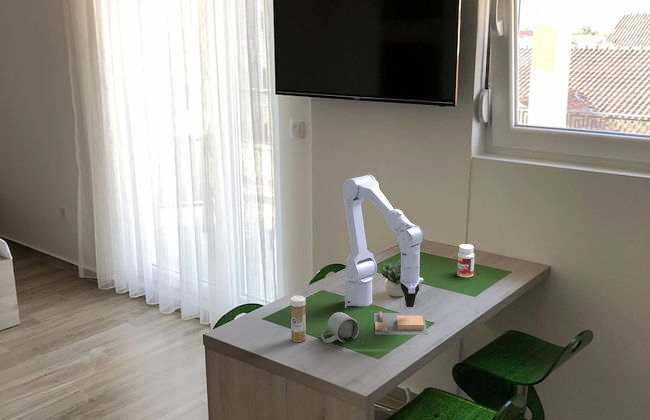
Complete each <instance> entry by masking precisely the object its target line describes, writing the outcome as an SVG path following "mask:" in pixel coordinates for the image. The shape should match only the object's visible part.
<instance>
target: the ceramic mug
mask: <svg viewBox="0 0 650 420" xmlns="http://www.w3.org/2000/svg"><path fill="white" fill-rule="evenodd" d="M330 333H331V334H332V336H330V337H327V338H325V337H326V336H327V335H328V334H330ZM359 333H360V325H359V322H358V320H357V319H355V318H353V317H352V316H350V315H348V314H346V313H345V312H341V311H340V312H339V311H338V312H334V313H333V314H331V316H330V317H329V318H328V321H327V328H326V329H325V330H324V331H323V332H322V333H321V335H320V338H321V340H322V342H323V343H325V344H330V343H333V342H335V341H337V340H338V342H339V341H340V343H344V344H346V338H352V339H353V340H355V339H356V338H357V337H358V335H359Z"/></svg>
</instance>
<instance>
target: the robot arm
mask: <svg viewBox="0 0 650 420" xmlns="http://www.w3.org/2000/svg"><path fill="white" fill-rule="evenodd" d="M379 185H380V183H379V182H378V181H377V180H376V178H375V177H374V176H373V175H372V174H365V175H363V176H357V177H353V178H347V179H346V180H345V181H344V182H343V184H342V185H341V187H342V188H341V189H342V194H343V205H344V213H345V218H346V219H345V220H346V226H347V231H348V240H349V246H350V253H349V255H348V256H347V257H346V259H345V270H344V271H345V275H346V278H347V279H344V296H343V301H344V308H345V309H347V308H348V307H347V306H349V307H350V306H351V307H352V306H353V307H368V306H370V305H372V304H373V280H374V278H375V275H376V274H377V273H378V265H377V263H376V260H375V258H374V254H373V253H372V252H370V250H368V245H367V238H366V231H365V226H364V225H365V224H364V218H363V217H364V216H363V210H362V203H363V202H364V201H365V200H367V201H368V200H369V201H370V202H371V203H372V204H373V205H374V206H375V207H376V208H377V209H378V210H379V211H380V212H381V213H382V214H383V216H384V222H385V223H386V225H387V226H388V227H389V228H390V229H391V230H392V231H393V233H394V234H395V236H397V237H396V241H397V243H398V246H399V251H400V278H399V282H400V289H401V291H402V293H403V296H404V303H405V306H406V308H413V307H414V306H415V301H416V297H417V294H418V292H419V291H420V283H423V282H424V278H423V277H420V262H421V259H420V258H421V257H420V256H421V254H420V252H421V244H422V243H424V240H425V233H424V230H422V228H421V227H420V226H419V225H415V224H414V223H411V222H410V220H409V219H408V218H407V217H406V216H405V215H404V212H403V211H402V210H400V209H399V208H396V209H395V208H394V207H393V206H392V205H391V203H390V202H389V200H388V199H387V197H386V196H385V195H384V194H383V192H382V191H381V190H380V186H379Z"/></svg>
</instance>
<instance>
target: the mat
mask: <svg viewBox="0 0 650 420" xmlns="http://www.w3.org/2000/svg"><path fill="white" fill-rule="evenodd" d="M397 316H422V318H423V322H424V330H398V328H397ZM382 318H383V322H387V331H376V329H375V328H374V335H375V336H376V335H382V336H383V335H384V336H387V335H390V336H391V335H392V336H393V335H395V336H396V335H397V336H398V335H403V336H405V335H409V336H411V335H413V336H415V335H416V336H419V335H422V336H423V335H426V336H427V335H429V332H428V329H427V323H426V319H425V314H424V313H423V312H382ZM373 319H374V321H373V322H374V324H375V322H379V315H378V312H374V313H373Z"/></svg>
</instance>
